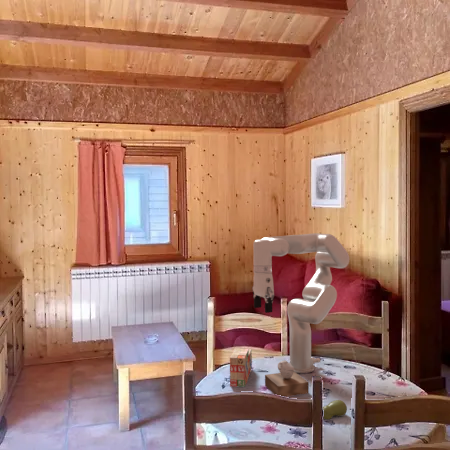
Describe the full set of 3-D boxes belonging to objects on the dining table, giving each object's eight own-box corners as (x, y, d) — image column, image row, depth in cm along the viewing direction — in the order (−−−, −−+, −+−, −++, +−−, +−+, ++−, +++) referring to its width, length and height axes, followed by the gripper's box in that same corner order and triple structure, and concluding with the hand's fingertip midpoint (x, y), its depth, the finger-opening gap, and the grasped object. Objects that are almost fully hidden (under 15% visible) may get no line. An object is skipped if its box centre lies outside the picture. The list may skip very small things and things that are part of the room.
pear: (348, 401, 168) (323, 410, 165) (350, 416, 168) (326, 425, 165) (340, 395, 173) (315, 404, 170) (342, 409, 174) (318, 418, 171)
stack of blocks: (238, 368, 218) (238, 341, 218) (252, 369, 217) (251, 342, 217) (229, 386, 197) (229, 357, 197) (245, 387, 196) (244, 357, 196)
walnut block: (293, 382, 202) (293, 370, 201) (308, 394, 189) (308, 382, 189) (265, 386, 198) (265, 374, 197) (278, 399, 185) (278, 386, 185)
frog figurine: (282, 374, 198) (282, 357, 197) (297, 377, 194) (297, 360, 193) (274, 378, 193) (274, 361, 193) (290, 382, 189) (289, 365, 188)
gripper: (281, 271, 194) (281, 313, 195) (260, 266, 209) (261, 305, 210) (264, 272, 191) (264, 315, 192) (245, 267, 206) (245, 306, 207)
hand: (263, 309), depth 201 cm, fingers open, 9 cm apart
